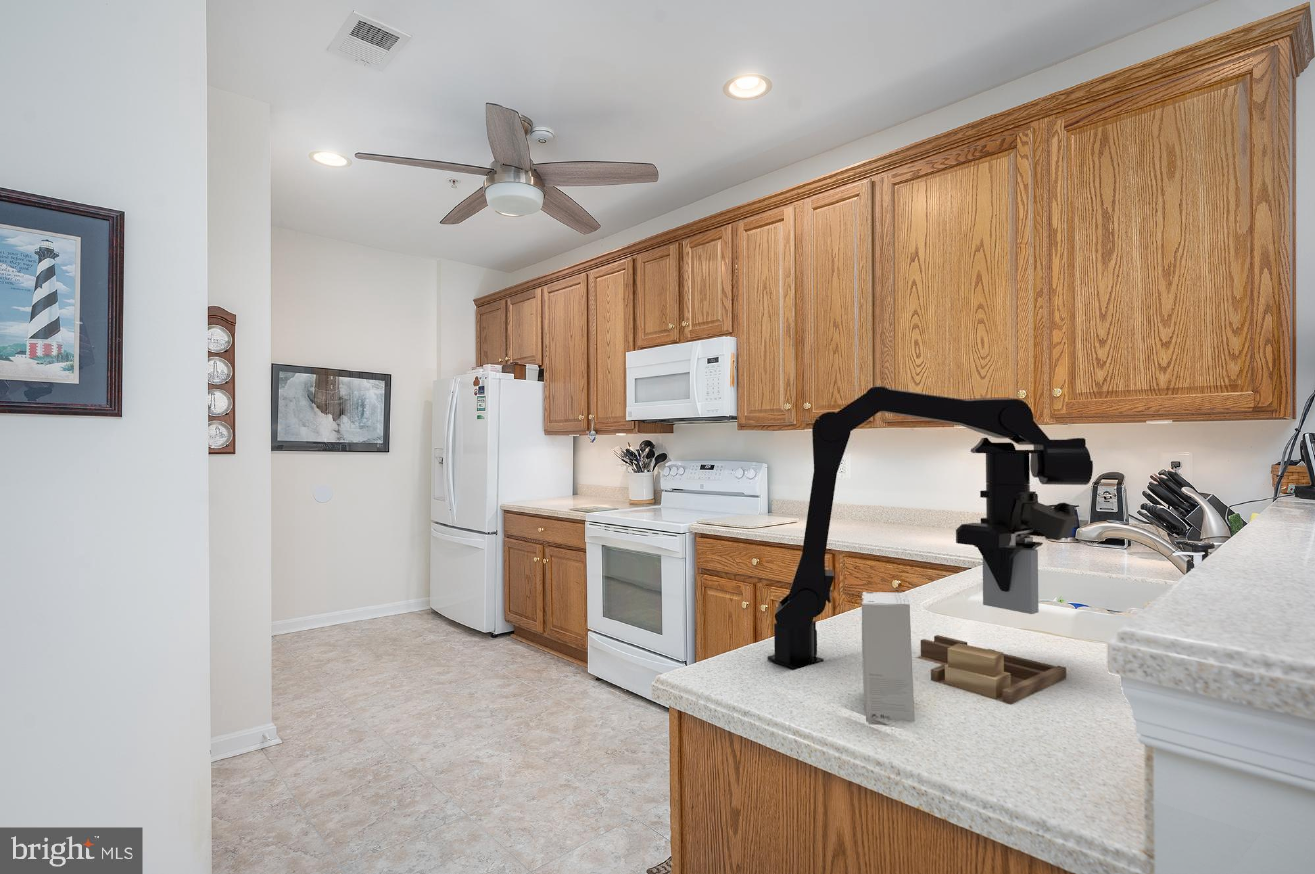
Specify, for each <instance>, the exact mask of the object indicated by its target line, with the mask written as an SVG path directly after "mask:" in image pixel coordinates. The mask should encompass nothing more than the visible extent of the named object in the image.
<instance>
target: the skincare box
mask: <svg viewBox="0 0 1315 874" xmlns="http://www.w3.org/2000/svg"><path fill="white" fill-rule="evenodd" d="M861 594H862V596H861V598H862V599H861V657H862V658H861V660H862V686H863V701H864V702H863V703H864V709H865V722H866V723H868V724H877V725H879V724H880V725H886V726H890V724H888V723H885V722H884V721H883V722H882V721H881V720H878V719H875V718H880V719H886V720H894V721H896V720H897V721H906V722H915V721H916V720H915V719H916V718H915V717H916V716H915V699H914V698H915V697H914V677H913V676H914V673H913V656H912V653H913V651H912V634H911V633H912V631H911V605H910V604H911V603H910V600H909V598H908V595H907V593H905V592H887V591H886V592H883V591H882V592H881V591H879V592H876V591H874V592H873V591H863V592H862V593H861Z"/></svg>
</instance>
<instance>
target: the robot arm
mask: <svg viewBox="0 0 1315 874" xmlns="http://www.w3.org/2000/svg"><path fill="white" fill-rule="evenodd" d="M878 413H883V414H890V415H896V416H903V417H910V418H915V419H923V420H929V421H934V422H935V421H936V422H943V423H948V424H954V425H957V426H961V427H964V428H967V429H970V430H972V431H974V432H977V433H980V434H984V435H986V436H989V437H992V438H995V439H1008V440H1009V441H1011V442H992V441H991V440H989V438H988V437H982V438H981V439H980V440H979V442H978V443H977V444H976V445H974V446H973V447H972V448H971V449H970V452H971V454H985V490H980V491H979V493H980V496H979V497H980V498H983V499H985V502H986V503H985V505H986V506H985V507H986V511H985V513H986V515H985V517H982V518H981V517H980V522H969V523H968V522H967V523H962V524H961V525H960V526H958V527H957V528H956V529H955V543H956V544H957V545H958V544H959V545H966V546H974V547H975V548H977V550H978V551H979V552H980V555H981V556H982V559H983V558H984V560H985V561H986V563H987V565H988V567H989V569H990V571H991V572H992V574H993V576H994V578H995V580H996V582H997V584H998V586H999V588H1000V590H1001V591H1005V592H1008V591H1009V590H1010V584H1011V577H1012V568H1013V559H1014V556H1015V555H1016V554H1017V553H1018V552H1019V551H1020V550H1021V549H1023V548H1030V549H1037V548H1039V547H1041V546H1042V545H1043V542H1041V541H1034V537H1044V538H1045V539H1046V540H1054V541H1061V539H1066V540H1067V539H1070V536H1071V533H1072V531H1073V528H1077V527H1079V522H1078V518H1079V516H1077V515H1076V509H1075V507H1076V506H1075V505H1072V504H1069V503H1068V502H1059V503H1057V504H1056V505H1054V506H1052V505H1050V504H1049V505H1048V504H1043V503H1041V502H1039V495H1038V493H1037V492H1036V491H1032V490H1031V484H1030V483H1031V479H1030V477H1031V476H1032V477H1033V478H1036V479H1038V481H1039V482H1040V484H1041V485H1047V486H1048V485H1050V486H1051V485H1055V486H1056V485H1057V486H1058V485H1061V486H1063V485H1064V486H1065V485H1066V486H1068V485H1069V486H1070V485H1071V486H1075V485H1077V486H1087V485H1088V484H1090V483H1091V480H1092V477H1093V471H1094V461H1093V460H1092V458H1091V454H1090V451H1089V448H1088V447H1087V446H1086V445H1087V443H1086V438H1084V437H1071V438H1067V439H1066V438H1065V439H1051V438H1049V437H1048V436H1047V434H1046V433H1045V432H1044V431H1043V430H1042V429H1041V427H1040V426H1039V425H1038V423H1036V421H1034V412H1033V411H1032V408H1031V407H1030V406H1029V405H1028V403H1027V402H1026V401H1024V400H1022V399H1019V398H1014V397H1013V398H1010V397H1008V398H1007V397H1006V398H1005V397H1004V398H977V399H973V398H972V399H962V398H957V397H956V398H955V397H950V396H941V395H934V394H929V393H921V392H913V391H908V390H902V389H893V388H888V387H886V386H883V385H874V386H871V387H870V388H869V389H868V390H867V391H866V392H865V393H863V394H862V395H861V396H859V397H858V398H856V399H855V400H853V401H851V402H849V404H847V405H845V406H844V407H842V408H841V409H840V410H838V411H836V412H835V411H828V412H824V413H821V415H819V416H818V417H816V418H815V420H814V421H813V424H812V428H811V430H812V431H811V432H812V433H811V434H812V437H811V438H812V455H813V457H812V458H813V472H812V473H813V474H812V481H811V489H810V496H809V501H808V508H807V509H808V510H807V515H806V524H805V531H804V537H803V543H802V551H801V555H800V559H799V561H798V564H797V568H796V571H795V573H794V576H793V579H792V582H791V585H790V588H789V592H788V593H787V595H785V596H784V597H783V598H782V599H781V600H779V602H778V604H777V607H776V610H775V613H774V618H775V619H774V620H775V622H774V625H773V630H774V631H773V632H774V635H773V636H774V637H773V638H774V640H773V641H774V654H771V655H768V656H767V661H770V662H772V663H776V664H779V665H782V666H784V667H787V668H790V669H792V670H794V671H795V670H799V669H802V668H806V667H809V666H813V665H816V664H819V663H824V662H825V658H822V657H819V656H818V630H817V629H816V628H817V627H816V626H817V623H816V620H814V618H817V617H819V616H820V615H821V614H822V613H823V612H824V610H825V609H826V605H827V603H828V604H831V603H832V593H831V588H832V586H833V582H834V579H835V572H834V569H826V552H827V545H828V539H829V531H830V525H831V518H832V510H833V503H834V499H835V498H834V496H835V489H836V483H837V476H838V472H839V468H840V466H841V463H842V460H843V458H844V457H843V456H844V454H845V451H846V448H847V446H848V442H849V439H850V436H851V432H852V431H854V430H855V429H857V428H858V427H859V426H861V425H862V424H864V423H865V422H867V421H868V420H870V419H871V418H873V417H874V416H876V415H877V414H878ZM1014 443H1015V444H1017V445H1019V446H1033V449H1017V448H1016V446H1015V444H1014ZM1030 472H1031V474H1030ZM1030 475H1031V476H1030ZM1033 536H1034V537H1033Z"/></svg>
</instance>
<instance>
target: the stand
mask: <svg viewBox="0 0 1315 874" xmlns="http://www.w3.org/2000/svg"><path fill="white" fill-rule="evenodd" d="M958 643H959V644H964V645H968V642H967V641H964V640H961V639H960V640H959V639H957V638H953V637H947V636H943V635H939V634H936V635H934V636H933V640H930V639H926V638H922V639H920V655H919V656H917V657H916V658H917V659H920V660H923V661H928V662H930V663H934V664H938V665H940V666H941V665H944V664H947V663H948V648H950V647H952V646H954V645H956V644H958Z"/></svg>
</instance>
